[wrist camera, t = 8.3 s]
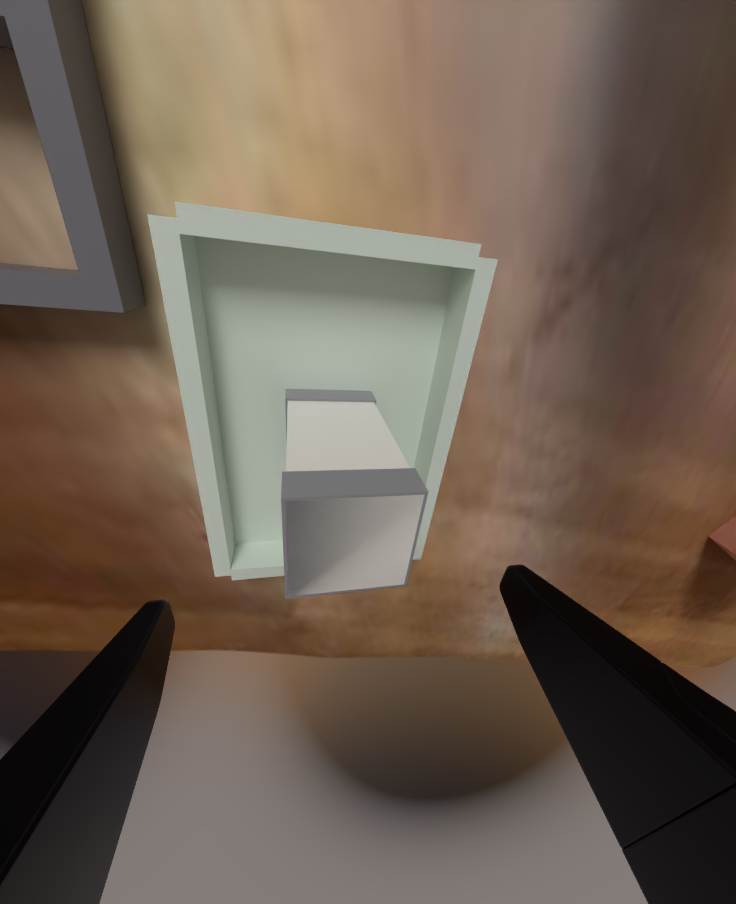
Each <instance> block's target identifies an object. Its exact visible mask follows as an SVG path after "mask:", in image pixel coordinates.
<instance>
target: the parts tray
mask: <svg viewBox="0 0 736 904" xmlns="http://www.w3.org/2000/svg"><path fill="white" fill-rule="evenodd" d="M174 202H175V201H174ZM175 208H176V215H177V218H173V217H166V216H158V215H150V214H147V216H148V222H149V227H150V232H151V238H152V243H153V248H154V254H155V259H156V264H157V270H158V275H159V280H160V286H161V291H162V296H163V302H164V307H165V312H166V318H167V323H168V328H169V334H170V339H171V344H172V350H173V355H174V360H175V366H176V371H177V376H178V382H179V387H180V392H181V398H182V403H183V408H184V414H185V419H186V424H187V430H188V435H189V440H190V446H191V451H192V456H193V462H194V467H195V472H196V478H197V483H198V488H199V494H200V499H201V504H202V510H203V515H204V520H205V526H206V531H207V536H208V542H209V547H210V552H211V558H212V563H213V568H214V574H215V577H218V576H229V575H231V577H232V580H242V579H253V578H264V577H275V576H284V559H283V534H282V510H281V486H282V472H285V471H286V448H287V444H286V408H285V392H286V389H318V390H356V391H371V392H372V393H373V395H374V397H375V399H376V407H377V409H378V410H379V412H380V414H381V416H382V418H383V420H384V421H385V423H386V425H387V427H388V429H389V431H390V432H391V434H392V436H393V438H394V440H395V441H396V443H397V445H398V447H399V449H400V451H401V452H402V454H403V456H404V458H405V460H406V462H407V463H408V465H409V467H410V468H415V469H416V470H417V472H418V474H419V476H420V477H421V479H422V481H423V483H424V484H425V486H426V488H427V490H428V491H429V492H428V496H427V500H426V505H425V509H424V513H423V517H422V522H421V526H420V530H419V534H418V539H417V543H416V547H415V552H414V556H413V560H416V559H421V557H422V553H423V549H424V545H425V541H426V537H427V534H428V530H429V526H430V522H431V518H432V514H433V510H434V506H435V502H436V499H437V495H438V491H439V487H440V483H441V479H442V475H443V471H444V467H445V464H446V460H447V456H448V452H449V448H450V444H451V440H452V436H453V432H454V429H455V425H456V421H457V417H458V413H459V409H460V405H461V401H462V397H463V394H464V390H465V386H466V382H467V378H468V374H469V370H470V366H471V362H472V359H473V355H474V351H475V347H476V343H477V339H478V335H479V331H480V327H481V324H482V320H483V316H484V312H485V308H486V304H487V300H488V296H489V292H490V289H491V285H492V281H493V277H494V273H495V269H496V265H497V261H498V260H497V259H489V258H482V257H479V253H480V248H481V244H476V243H469V242H462V241H455V240H447V239H440V238H433V237H426V236H419V235H411V234H404V233H397V232H390V231H383V230H376V229H368V228H361V227H354V226H347V225H340V224H332V223H325V222H318V221H311V220H304V219H297V218H289V217H282V216H275V215H268V214H261V213H254V212H246V211H239V210H232V209H225V208H218V207H210V206H203V205H196V204H189V203H182V202H175Z"/></svg>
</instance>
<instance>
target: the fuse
mask: <svg viewBox="0 0 736 904" xmlns="http://www.w3.org/2000/svg"><path fill="white" fill-rule="evenodd" d="M285 408H286V444H287V448H286V471H285V472H282V486H281V510H282V534H283V559H284V583H285V599H290V598H299V597H308V596H318V595H327V594H337V593H346V592H355V591H365V590H374V589H384V588H393V587H402V586H407V581H408V577H409V573H410V569H411V564H412V560H413V556H414V552H415V547H416V543H417V539H418V534H419V530H420V526H421V522H422V517H423V513H424V509H425V505H426V500H427V496H428V492H429V491H428V490H427V488H426V486H425V484H424V483H423V481H422V479H421V477H420V476H419V474H418V472H417V470H416V469H415V468H410V467H409V465H408V463H407V462H406V460H405V458H404V456H403V454H402V452H401V451H400V449H399V447H398V445H397V443H396V441H395V440H394V438H393V436H392V434H391V432H390V431H389V429H388V427H387V425H386V423H385V421H384V420H383V418H382V416H381V414H380V412H379V410H378V409H377V407H376V399H375V397H374V395H373V393H372V392H371V391H356V390H318V389H286V392H285Z"/></svg>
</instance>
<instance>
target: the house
mask: <svg viewBox="0 0 736 904" xmlns="http://www.w3.org/2000/svg"><path fill="white" fill-rule="evenodd" d="M709 537H710V538H711V539H712V540H713V541H714V542H715V543H717V544H718V545H719V546H720V547H721V548H722V549H723V550H724V551H725V552H726V553H728V554H729V555H730V556H731V557H732V558H733V559H734V560H735V561H736V516H735V517H733V518H732V519H731V520H729V521H728V522H727V523H725V524H724V525H722V526H721V527H720V528H718V529H717V530H716V531H714V532H713V533H712V534H710V535H709Z"/></svg>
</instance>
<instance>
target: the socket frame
mask: <svg viewBox="0 0 736 904" xmlns="http://www.w3.org/2000/svg"><path fill="white" fill-rule="evenodd" d="M0 46H2V47H6V48H11V49H14V51H15V54H16V58H17V61H18V65H19V68H20V72H21V75H22V78H23V82H24V85H25V89H26V92H27V96H28V99H29V102H30V106H31V109H32V113H33V116H34V120H35V123H36V126H37V130H38V133H39V137H40V140H41V144H42V147H43V150H44V154H45V157H46V161H47V164H48V168H49V171H50V174H51V178H52V181H53V185H54V188H55V192H56V195H57V198H58V202H59V205H60V209H61V212H62V216H63V219H64V222H65V226H66V229H67V233H68V236H69V240H70V243H71V246H72V250H73V253H74V257H75V260H76V263H77V267H78V270H79V271H78V270H68V269H57V268H46V267H35V266H25V265H14V264H3V263H0V304H6V305H20V306H34V307H49V308H63V309H77V310H91V311H105V312H119V313H125V312H128V311H131V310H133V309H136V308H139V307H142V306H144V305H146V304H145V299H144V294H143V290H142V285H141V280H140V275H139V271H138V266H137V261H136V257H135V252H134V247H133V243H132V238H131V233H130V228H129V224H128V219H127V214H126V210H125V205H124V200H123V196H122V191H121V186H120V181H119V177H118V172H117V167H116V163H115V158H114V153H113V149H112V144H111V139H110V135H109V130H108V125H107V120H106V116H105V111H104V106H103V102H102V97H101V92H100V88H99V83H98V78H97V73H96V69H95V64H94V59H93V55H92V50H91V45H90V41H89V36H88V31H87V26H86V22H85V17H84V12H83V8H82V3H81V0H0Z"/></svg>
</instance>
